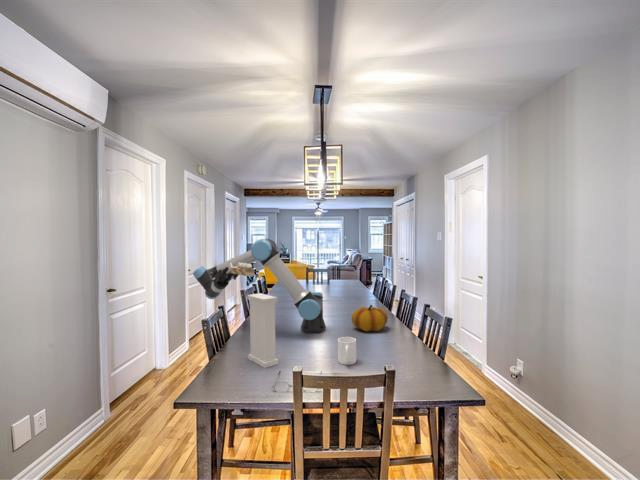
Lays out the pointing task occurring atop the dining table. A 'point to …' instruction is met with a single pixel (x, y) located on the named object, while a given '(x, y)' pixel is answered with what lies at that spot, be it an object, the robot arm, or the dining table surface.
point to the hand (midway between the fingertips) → (235, 265)
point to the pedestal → (262, 329)
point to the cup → (346, 350)
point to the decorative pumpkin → (369, 318)
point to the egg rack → (242, 269)
